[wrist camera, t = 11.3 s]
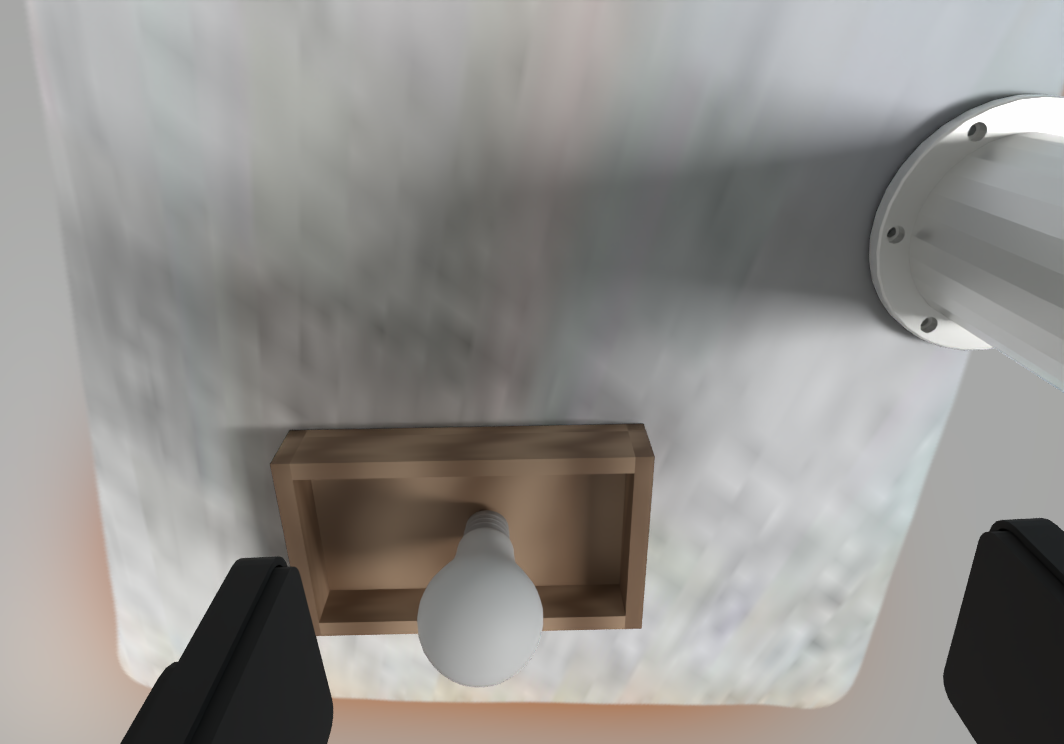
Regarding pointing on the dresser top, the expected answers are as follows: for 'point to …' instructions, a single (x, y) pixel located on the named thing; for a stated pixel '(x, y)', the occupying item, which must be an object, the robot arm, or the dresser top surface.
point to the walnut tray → (466, 517)
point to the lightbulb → (481, 609)
